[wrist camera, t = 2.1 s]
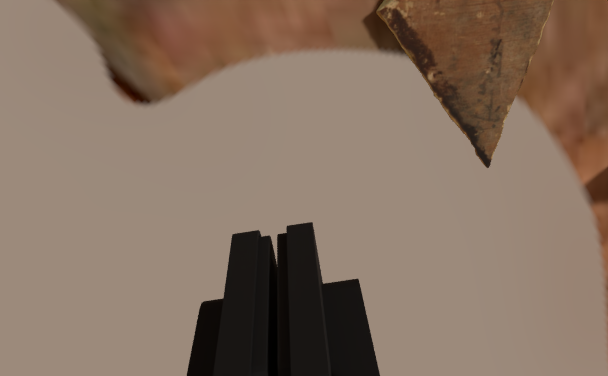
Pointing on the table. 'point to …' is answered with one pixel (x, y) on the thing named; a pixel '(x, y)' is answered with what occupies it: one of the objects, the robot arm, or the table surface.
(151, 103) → the table surface
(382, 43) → the table surface
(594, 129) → the table surface
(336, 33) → the table surface
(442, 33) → the shard
